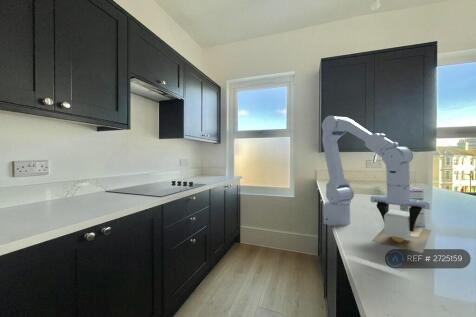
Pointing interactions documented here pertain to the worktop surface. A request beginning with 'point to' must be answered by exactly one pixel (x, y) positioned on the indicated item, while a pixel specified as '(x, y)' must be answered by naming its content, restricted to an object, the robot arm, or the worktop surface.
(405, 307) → the worktop surface
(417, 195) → the syrup box
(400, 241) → the marble
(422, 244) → the walnut board
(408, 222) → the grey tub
